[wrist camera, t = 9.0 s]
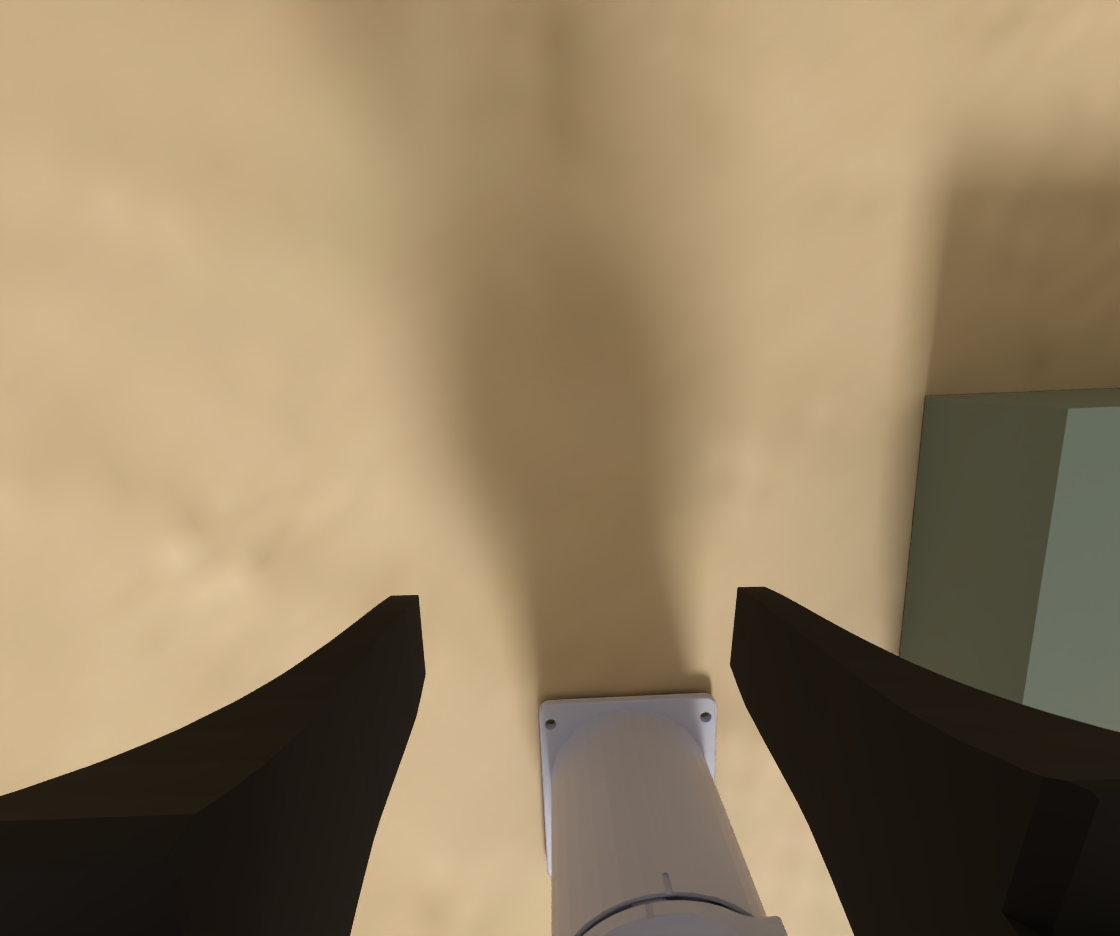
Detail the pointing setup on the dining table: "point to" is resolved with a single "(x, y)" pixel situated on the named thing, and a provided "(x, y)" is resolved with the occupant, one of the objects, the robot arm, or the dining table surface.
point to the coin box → (1020, 549)
